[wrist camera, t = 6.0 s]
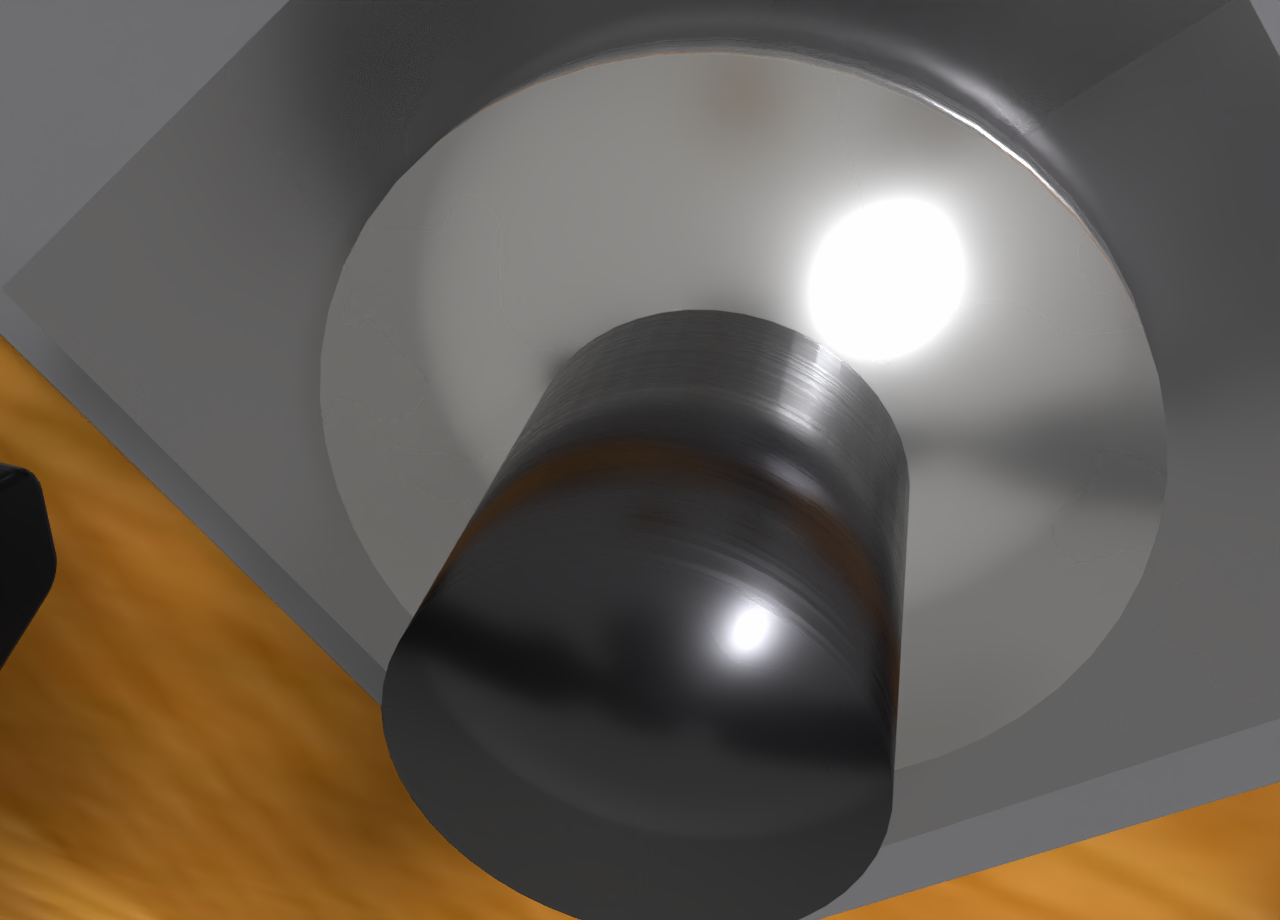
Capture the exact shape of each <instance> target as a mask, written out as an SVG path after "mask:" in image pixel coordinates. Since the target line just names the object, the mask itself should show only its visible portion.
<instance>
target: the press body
mask: <svg viewBox="0 0 1280 920" xmlns="http://www.w3.org/2000/svg"><path fill="white" fill-rule="evenodd" d="M709 37H739V38H749V39H760V40H770V41H780V42H790V43H797V44H801V45H806V46H810V47H814V48H818V49H822V50H827V51H831V52H835V53H839V54H843V55H848V56H852V57H856V58H860V59H862V60H865V61H867V62H870V63H872V64H875V65H878V66H880V67H883V68H885V69H888V70H891V71H893V72H896V73H898V74H901V75H903V76H906V77H909V78H911V79H914V80H916V81H919V82H921V83H923V84H925V85H926V86H928V87H930V88H932V89H934V90H935V91H937V92H939V93H941V94H943V95H944V96H946V97H948V98H950V99H952V100H953V101H955V102H957V103H959V104H961V105H962V106H964V107H966V108H968V109H970V110H972V111H973V112H975V113H977V114H978V115H979V116H981V117H982V118H983V119H985V120H986V121H987V122H989V123H990V124H991V125H993V126H994V127H995V128H997V129H998V130H999V131H1001V132H1002V133H1003V134H1005V135H1006V136H1007V137H1009V138H1010V139H1011V140H1013V141H1014V142H1015V143H1017V144H1018V145H1019V146H1021V147H1022V148H1023V149H1025V150H1026V151H1027V152H1028V153H1029V154H1030V155H1031V156H1032V157H1033V158H1034V159H1035V160H1036V161H1037V162H1038V163H1039V164H1040V165H1041V166H1042V167H1043V168H1044V169H1045V170H1046V171H1047V172H1048V173H1049V174H1050V175H1051V176H1052V177H1053V178H1054V179H1055V180H1056V181H1057V182H1058V183H1059V184H1060V185H1061V186H1062V187H1063V188H1064V189H1065V190H1066V191H1067V192H1068V193H1069V194H1070V195H1071V197H1072V198H1073V199H1074V201H1075V202H1076V203H1077V205H1078V206H1079V207H1080V209H1081V210H1082V212H1083V213H1084V214H1085V216H1086V217H1087V218H1088V220H1089V221H1090V222H1091V224H1092V225H1093V226H1094V228H1095V229H1096V231H1097V232H1098V233H1099V235H1100V236H1101V237H1102V239H1103V240H1104V241H1105V243H1106V245H1107V247H1108V249H1109V250H1110V252H1111V254H1112V256H1113V258H1114V260H1115V262H1116V264H1117V266H1118V268H1119V270H1120V271H1121V273H1122V275H1123V277H1124V279H1125V281H1126V283H1127V285H1128V287H1129V289H1130V291H1131V292H1132V295H1133V298H1134V301H1135V304H1136V307H1137V310H1138V313H1139V316H1140V319H1141V322H1142V325H1143V328H1144V331H1145V334H1146V337H1147V340H1148V343H1149V346H1150V349H1151V353H1152V356H1153V359H1154V363H1155V366H1156V369H1157V373H1158V376H1159V382H1160V388H1161V394H1162V401H1163V407H1164V413H1165V419H1166V425H1167V484H1166V489H1165V495H1164V501H1163V506H1162V512H1161V518H1160V523H1159V529H1158V533H1157V536H1156V539H1155V541H1154V544H1153V547H1152V550H1151V553H1150V556H1149V558H1148V561H1147V564H1146V567H1145V570H1144V573H1143V575H1142V578H1141V580H1140V581H1139V583H1138V585H1137V587H1136V589H1135V591H1134V592H1133V594H1132V596H1131V598H1130V600H1129V602H1128V604H1127V605H1126V607H1125V609H1124V611H1123V613H1122V615H1121V616H1120V618H1119V620H1118V621H1117V622H1116V624H1115V625H1114V626H1113V628H1112V629H1111V630H1110V632H1109V633H1108V634H1107V635H1106V637H1105V638H1104V639H1103V641H1102V642H1101V643H1100V645H1099V646H1098V647H1097V649H1096V650H1095V651H1094V653H1093V654H1092V655H1091V656H1090V657H1089V658H1088V659H1087V660H1086V661H1085V662H1084V663H1083V664H1082V665H1081V666H1080V667H1079V668H1078V669H1077V670H1076V671H1075V672H1074V673H1073V674H1072V675H1071V676H1070V677H1069V678H1068V679H1067V680H1066V681H1065V682H1064V683H1063V684H1062V685H1061V686H1060V687H1059V688H1058V689H1057V690H1055V691H1054V692H1053V693H1051V694H1050V695H1049V696H1047V697H1046V698H1045V699H1043V700H1042V701H1041V702H1039V703H1038V704H1037V705H1035V706H1034V707H1033V708H1031V709H1030V710H1029V711H1027V712H1026V713H1025V714H1023V715H1022V716H1021V717H1019V718H1017V719H1015V720H1014V721H1012V722H1010V723H1008V724H1007V725H1005V726H1003V727H1001V728H1000V729H998V730H996V731H994V732H993V733H991V734H989V735H987V736H986V737H984V738H982V739H980V740H978V741H976V742H973V743H971V744H968V745H966V746H964V747H961V748H959V749H957V750H954V751H952V752H949V753H947V754H945V755H942V756H940V757H938V758H934V759H931V760H927V761H924V762H921V763H917V764H914V765H911V766H907V767H904V768H900V769H897V770H894V787H893V805H892V813H891V817H890V821H889V826H888V830H887V834H886V836H885V838H884V840H883V843H882V845H881V847H884V846H887V845H890V844H893V843H896V842H899V841H902V840H905V839H909V838H912V837H915V836H918V835H921V834H924V833H927V832H930V831H933V830H936V829H939V828H942V827H946V826H949V825H952V824H955V823H958V822H961V821H964V820H967V819H970V818H973V817H976V816H980V815H983V814H986V813H989V812H992V811H995V810H998V809H1001V808H1004V807H1007V806H1010V805H1014V804H1017V803H1020V802H1023V801H1026V800H1029V799H1032V798H1035V797H1038V796H1041V795H1044V794H1048V793H1051V792H1054V791H1057V790H1060V789H1063V788H1066V787H1069V786H1072V785H1075V784H1078V783H1082V782H1085V781H1088V780H1091V779H1094V778H1097V777H1100V776H1103V775H1106V774H1109V773H1112V772H1116V771H1119V770H1122V769H1125V768H1128V767H1131V766H1134V765H1137V764H1140V763H1143V762H1146V761H1150V760H1153V759H1156V758H1159V757H1162V756H1165V755H1168V754H1171V753H1174V752H1177V751H1180V750H1184V749H1187V748H1190V747H1193V746H1196V745H1199V744H1202V743H1205V742H1208V741H1211V740H1214V739H1218V738H1221V737H1224V736H1227V735H1230V734H1233V733H1236V732H1239V731H1242V730H1245V729H1248V728H1252V727H1255V726H1258V725H1261V724H1264V723H1267V722H1270V721H1273V720H1276V719H1279V718H1280V56H1279V54H1278V53H1277V51H1276V49H1275V47H1274V45H1273V43H1272V41H1271V39H1270V38H1269V36H1268V34H1267V32H1266V30H1265V28H1264V26H1263V24H1262V23H1261V21H1260V19H1259V17H1258V15H1257V13H1256V11H1255V9H1254V8H1253V6H1252V4H1251V2H1250V0H289V1H288V2H287V3H286V4H285V5H284V6H283V7H282V8H281V9H280V10H279V11H278V12H277V13H276V14H275V15H274V16H273V17H272V18H271V19H270V20H269V21H268V22H267V23H266V24H265V25H264V26H263V27H262V28H261V29H260V30H259V31H258V32H257V33H256V34H255V35H254V36H253V37H252V38H251V39H250V40H249V41H248V42H247V43H246V44H245V45H244V46H243V47H242V48H241V49H240V50H239V51H238V52H237V53H236V54H235V55H234V56H233V57H232V58H231V59H230V60H229V61H228V62H227V63H226V64H225V65H224V66H223V67H222V68H221V69H220V70H219V71H218V72H217V73H216V74H215V75H214V76H213V77H212V78H211V79H210V80H209V81H208V82H207V83H206V84H205V85H204V86H203V87H202V88H201V89H200V90H199V91H198V92H197V93H196V94H195V95H194V96H193V97H192V98H191V99H190V100H189V101H188V102H187V103H186V104H185V105H184V106H183V107H182V108H181V109H180V110H179V111H178V112H177V113H176V114H175V115H174V116H173V117H172V118H171V119H170V120H169V121H168V122H167V123H166V124H165V125H164V126H163V127H162V128H161V129H160V130H159V131H158V132H157V133H156V134H155V135H154V136H153V137H152V138H151V139H150V140H149V141H148V142H147V143H146V144H145V145H144V146H143V147H142V148H141V149H140V150H139V151H138V152H137V153H136V154H135V155H134V156H133V157H132V158H131V159H130V160H129V161H128V162H127V163H126V164H125V165H124V166H123V167H122V168H121V169H120V170H119V171H118V172H117V173H116V174H115V175H114V176H113V177H112V178H111V179H110V180H109V181H108V182H107V183H106V184H105V185H104V186H103V187H102V188H101V189H100V190H99V191H98V192H97V193H96V194H95V195H94V196H93V197H92V198H91V199H90V200H89V201H88V202H87V203H86V204H85V205H84V206H83V207H82V208H81V209H80V210H79V211H78V212H77V213H76V214H75V215H74V216H73V217H72V218H71V219H70V220H69V221H68V222H67V223H66V224H65V225H64V226H63V227H62V228H61V229H60V230H59V231H58V232H57V233H56V234H55V235H54V236H53V237H52V238H51V239H50V240H49V241H48V242H47V243H46V244H45V245H44V246H43V247H42V248H41V249H40V250H39V251H38V252H37V253H36V254H35V255H34V256H33V257H32V258H31V259H30V260H29V261H28V262H27V263H26V264H25V265H24V266H23V267H22V268H21V269H20V270H19V271H18V272H17V273H16V274H15V275H14V276H13V277H12V278H11V279H10V280H9V281H8V282H7V283H6V284H5V285H4V286H3V287H2V288H1V289H2V290H3V291H4V292H5V293H6V294H7V295H8V296H9V297H10V298H11V299H12V300H13V301H14V302H15V303H16V304H17V305H18V306H19V307H20V308H21V309H22V310H23V311H24V312H25V313H26V314H27V315H28V316H29V317H30V318H31V319H32V320H33V321H34V322H35V323H36V324H37V325H38V326H39V327H40V328H41V329H42V330H43V331H44V332H45V333H46V334H47V335H48V336H49V337H50V338H51V339H52V340H53V341H54V342H55V343H56V344H57V345H58V346H59V347H60V348H61V349H62V350H63V351H64V352H65V353H66V354H67V355H68V356H69V357H70V358H71V359H72V360H73V361H74V362H75V363H76V364H77V365H78V366H79V367H80V368H81V369H82V370H83V371H84V372H85V373H86V374H87V375H88V376H89V377H90V378H91V379H92V380H93V381H94V382H95V383H96V384H97V385H98V386H99V387H100V388H101V389H102V390H103V391H104V392H105V393H106V394H107V395H108V396H109V397H110V398H111V399H112V400H113V401H114V402H115V403H117V404H118V405H119V406H120V407H121V408H122V409H123V410H124V411H125V412H126V413H127V414H128V415H129V416H130V417H131V418H132V419H133V420H134V421H135V422H136V423H137V424H138V425H139V426H140V427H141V428H142V429H143V430H144V431H145V432H146V433H147V434H148V435H149V436H150V437H151V438H152V439H153V440H154V441H155V442H156V443H157V444H158V445H159V446H160V447H161V448H162V449H163V450H164V451H165V452H166V453H167V454H168V455H169V456H170V457H171V458H172V459H173V460H174V461H175V462H176V463H177V464H178V465H179V466H180V467H181V468H182V469H183V470H184V471H185V472H186V473H187V474H188V475H189V476H190V477H191V478H192V479H193V480H194V481H195V482H196V483H197V484H198V485H199V486H200V487H201V488H202V489H203V490H204V491H205V492H206V493H207V494H208V495H209V496H210V497H211V498H212V499H213V500H214V501H215V502H216V503H217V504H218V505H219V506H220V507H221V508H222V509H223V510H224V511H225V512H226V513H227V514H228V515H229V516H230V517H231V518H232V519H233V520H234V521H235V522H236V523H237V524H238V525H239V526H240V527H241V528H242V529H243V530H244V531H245V532H246V533H247V534H248V535H249V536H250V537H251V538H252V539H253V540H254V541H255V542H256V543H257V544H258V545H259V546H260V547H261V548H262V549H263V550H264V551H265V552H266V553H267V554H268V555H269V556H270V557H271V558H272V559H273V560H274V561H275V562H276V563H277V564H279V565H280V566H281V567H282V568H283V569H284V570H285V571H286V572H287V573H288V574H289V575H290V576H291V577H292V578H293V579H294V580H295V581H296V582H297V583H298V584H299V585H300V586H301V587H302V588H303V589H304V590H305V591H306V592H307V593H308V594H309V595H310V596H311V597H312V598H313V599H314V600H315V601H316V602H317V603H318V604H319V605H320V606H321V607H322V608H323V609H324V610H325V611H326V612H327V613H328V614H329V615H330V616H331V617H332V618H333V619H334V620H335V621H336V622H337V623H338V624H339V625H340V626H341V627H342V628H343V629H344V630H345V631H346V632H347V633H348V634H349V635H350V636H351V637H352V638H353V639H354V640H355V641H356V642H357V643H358V644H359V645H360V646H361V647H362V648H363V649H364V650H365V651H366V652H367V653H368V654H369V655H370V656H371V657H372V658H373V659H374V660H375V661H376V662H377V663H378V664H379V665H380V666H381V667H382V668H383V669H384V670H385V671H386V672H387V668H388V664H389V661H390V659H391V657H392V655H393V653H394V651H395V649H396V647H397V645H398V642H399V641H400V639H401V637H402V635H403V634H404V632H405V630H406V629H407V627H408V625H409V623H410V622H411V620H412V618H413V617H412V616H411V615H410V614H409V613H408V611H407V610H406V609H405V608H404V607H403V606H402V605H401V603H400V602H399V601H398V599H397V598H396V596H395V595H394V594H393V592H392V591H391V589H390V588H389V587H388V585H387V584H386V582H385V581H384V580H383V578H382V577H381V575H380V574H379V572H378V571H377V570H376V568H375V567H374V565H373V563H372V561H371V559H370V558H369V556H368V554H367V552H366V550H365V549H364V547H363V545H362V543H361V541H360V539H359V538H358V536H357V534H356V532H355V530H354V529H353V526H352V524H351V521H350V519H349V516H348V514H347V511H346V509H345V506H344V504H343V501H342V499H341V496H340V494H339V492H338V489H337V486H336V483H335V479H334V475H333V471H332V467H331V463H330V460H329V456H328V452H327V448H326V444H325V436H324V428H323V420H322V412H321V404H320V377H321V352H322V346H323V340H324V334H325V328H326V323H327V317H328V311H329V307H330V304H331V301H332V298H333V295H334V292H335V289H336V287H337V284H338V281H339V278H340V275H341V272H342V269H343V266H344V264H345V262H346V260H347V258H348V256H349V254H350V252H351V250H352V248H353V246H354V245H355V243H356V241H357V239H358V237H359V235H360V233H361V231H362V229H363V227H364V225H365V224H366V222H367V220H368V219H369V218H370V216H371V215H372V214H373V212H374V211H375V210H376V208H377V207H378V206H379V204H380V203H381V202H382V200H383V199H384V198H385V196H386V195H387V194H388V192H389V191H390V190H391V188H392V187H393V186H394V184H395V183H396V182H397V181H398V180H399V179H400V178H401V177H402V176H403V175H404V174H405V173H406V172H407V171H408V170H409V169H410V168H411V167H412V166H413V165H414V164H415V163H416V162H417V161H418V160H419V159H420V158H421V157H422V156H423V155H425V154H426V153H427V152H428V151H429V150H430V149H431V148H432V147H433V146H434V145H435V144H436V143H437V142H438V141H439V140H441V139H442V138H443V137H444V136H445V135H446V134H447V133H449V132H450V131H451V130H452V129H453V128H454V127H455V126H457V125H458V124H459V123H461V122H462V121H463V120H465V119H466V118H468V117H469V116H470V115H472V114H473V113H475V112H476V111H478V110H479V109H480V108H482V107H483V106H485V105H486V104H487V103H489V102H490V101H492V100H493V99H494V98H496V97H497V96H499V95H500V94H502V93H504V92H506V91H508V90H510V89H512V88H514V87H516V86H518V85H519V84H521V83H523V82H525V81H527V80H529V79H531V78H533V77H535V76H537V75H539V74H541V73H543V72H545V71H547V70H549V69H551V68H554V67H557V66H560V65H563V64H566V63H569V62H572V61H575V60H578V59H581V58H584V57H587V56H590V55H594V54H597V53H600V52H603V51H606V50H609V49H615V48H621V47H626V46H632V45H637V44H643V43H649V42H654V41H660V40H665V39H683V38H709ZM881 847H880V848H881Z"/></svg>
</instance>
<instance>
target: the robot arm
mask: <svg viewBox="0 0 1280 920" xmlns="http://www.w3.org/2000/svg"><path fill="white" fill-rule="evenodd" d="M56 564H57V558H56V552H55V547H54V542H53V538H52V533H51V529H50V524H49V519H48V515H47V510H46V506H45V501H44V496H43V492H42V488H41V485H40V482H39V481H38V479H37V478H36V477H35V475H34V474H33V473H32V472H30V471H28V470H27V469H24V468H21V467H17V466H13V465H8V464H4V463H0V670H1V669H2V667H3V666H4V664H5V662H6V661H7V659H8V657H9V656H10V654H11V653H12V651H13V649H14V648H15V646H16V645H17V643H18V641H19V640H20V638H21V637H22V635H23V633H24V632H25V630H26V629H27V627H28V625H29V624H30V622H31V620H32V619H33V617H34V616H35V614H36V612H37V611H38V609H39V608H40V606H41V604H42V603H43V601H44V600H45V598H46V596H47V595H48V593H49V591H50V589H51V586H52V584H53V581H54V578H55V573H56Z"/></svg>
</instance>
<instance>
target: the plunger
mask: <svg viewBox="0 0 1280 920" xmlns="http://www.w3.org/2000/svg"><path fill="white" fill-rule="evenodd" d="M320 404H321V412H322V420H323V428H324V436H325V444H326V448H327V452H328V456H329V460H330V463H331V467H332V471H333V475H334V479H335V483H336V486H337V489H338V492H339V494H340V496H341V499H342V501H343V504H344V506H345V509H346V511H347V514H348V516H349V519H350V521H351V524H352V526H353V529H354V530H355V532H356V534H357V536H358V538H359V539H360V541H361V543H362V545H363V547H364V549H365V550H366V552H367V554H368V556H369V558H370V559H371V561H372V563H373V565H374V567H375V568H376V570H377V571H378V572H379V574H380V575H381V577H382V578H383V580H384V581H385V582H386V584H387V585H388V587H389V588H390V589H391V591H392V592H393V594H394V595H395V596H396V598H397V599H398V601H399V602H400V603H401V605H402V606H403V607H404V608H405V609H406V610H407V611H408V613H409V614H410V615H411V616H412V617H413V618H412V620H411V622H410V623H409V625H408V627H407V629H406V630H405V632H404V634H403V635H402V637H401V639H400V641H399V642H398V645H397V647H396V649H395V651H394V653H393V655H392V657H391V659H390V661H389V664H388V668H387V672H386V675H385V679H384V683H383V691H382V706H381V710H382V720H383V729H384V735H385V738H386V742H387V746H388V749H389V753H390V756H391V759H392V761H393V763H394V766H395V768H396V770H397V772H398V775H399V777H400V779H401V781H402V783H403V784H404V786H405V788H406V789H407V791H408V793H409V794H410V796H411V798H412V799H413V801H414V802H415V804H416V805H417V806H418V807H419V809H420V810H421V811H422V813H423V814H424V815H425V817H426V818H427V819H428V820H429V822H430V823H431V824H432V825H433V826H434V827H435V828H436V829H437V830H438V831H439V832H440V833H441V834H442V835H443V837H444V838H445V839H446V840H447V841H448V842H449V843H450V844H452V845H453V846H454V847H455V848H456V849H457V850H458V851H460V852H461V853H462V854H463V855H464V856H465V857H467V858H468V859H469V860H470V861H471V862H473V863H474V864H475V865H477V866H478V867H480V868H481V869H482V870H484V871H485V872H487V873H488V874H489V875H491V876H492V877H494V878H495V879H497V880H498V881H500V882H502V883H503V884H505V885H507V886H508V887H510V888H512V889H514V890H515V891H517V892H519V893H520V894H522V895H524V896H526V897H528V898H530V899H533V900H535V901H537V902H539V903H541V904H543V905H545V906H547V907H549V908H552V909H554V910H557V911H559V912H562V913H564V914H567V915H570V916H572V917H575V918H578V919H581V920H799V919H802V918H804V917H806V916H808V915H810V914H812V913H814V912H816V911H817V910H819V909H821V908H823V907H825V906H827V905H828V904H829V903H831V902H832V901H834V900H835V899H836V898H838V897H839V896H841V895H842V894H843V893H845V892H846V891H847V890H848V889H849V888H850V887H851V886H852V885H853V884H854V883H855V882H856V881H857V880H858V879H859V878H860V877H861V876H862V875H863V874H864V873H865V871H866V870H867V868H868V867H869V866H870V864H871V863H872V861H873V860H874V858H875V857H876V856H877V854H878V851H879V849H880V847H881V845H882V843H883V840H884V838H885V836H886V834H887V830H888V826H889V821H890V817H891V813H892V805H893V787H894V770H897V769H900V768H904V767H907V766H911V765H914V764H917V763H921V762H924V761H927V760H931V759H934V758H938V757H940V756H942V755H945V754H947V753H949V752H952V751H954V750H957V749H959V748H961V747H964V746H966V745H968V744H971V743H973V742H976V741H978V740H980V739H982V738H984V737H986V736H987V735H989V734H991V733H993V732H994V731H996V730H998V729H1000V728H1001V727H1003V726H1005V725H1007V724H1008V723H1010V722H1012V721H1014V720H1015V719H1017V718H1019V717H1021V716H1022V715H1023V714H1025V713H1026V712H1027V711H1029V710H1030V709H1031V708H1033V707H1034V706H1035V705H1037V704H1038V703H1039V702H1041V701H1042V700H1043V699H1045V698H1046V697H1047V696H1049V695H1050V694H1051V693H1053V692H1054V691H1055V690H1057V689H1058V688H1059V687H1060V686H1061V685H1062V684H1063V683H1064V682H1065V681H1066V680H1067V679H1068V678H1069V677H1070V676H1071V675H1072V674H1073V673H1074V672H1075V671H1076V670H1077V669H1078V668H1079V667H1080V666H1081V665H1082V664H1083V663H1084V662H1085V661H1086V660H1087V659H1088V658H1089V657H1090V656H1091V655H1092V654H1093V653H1094V651H1095V650H1096V649H1097V647H1098V646H1099V645H1100V643H1101V642H1102V641H1103V639H1104V638H1105V637H1106V635H1107V634H1108V633H1109V632H1110V630H1111V629H1112V628H1113V626H1114V625H1115V624H1116V622H1117V621H1118V620H1119V618H1120V616H1121V615H1122V613H1123V611H1124V609H1125V607H1126V605H1127V604H1128V602H1129V600H1130V598H1131V596H1132V594H1133V592H1134V591H1135V589H1136V587H1137V585H1138V583H1139V581H1140V580H1141V578H1142V575H1143V573H1144V570H1145V567H1146V564H1147V561H1148V558H1149V556H1150V553H1151V550H1152V547H1153V544H1154V541H1155V539H1156V536H1157V533H1158V529H1159V523H1160V518H1161V512H1162V506H1163V501H1164V495H1165V489H1166V484H1167V425H1166V419H1165V413H1164V407H1163V401H1162V394H1161V388H1160V382H1159V376H1158V373H1157V369H1156V366H1155V363H1154V359H1153V356H1152V353H1151V349H1150V346H1149V343H1148V340H1147V337H1146V334H1145V331H1144V328H1143V325H1142V322H1141V319H1140V316H1139V313H1138V310H1137V307H1136V304H1135V301H1134V298H1133V295H1132V292H1131V291H1130V289H1129V287H1128V285H1127V283H1126V281H1125V279H1124V277H1123V275H1122V273H1121V271H1120V270H1119V268H1118V266H1117V264H1116V262H1115V260H1114V258H1113V256H1112V254H1111V252H1110V250H1109V249H1108V247H1107V245H1106V243H1105V241H1104V240H1103V239H1102V237H1101V236H1100V235H1099V233H1098V232H1097V231H1096V229H1095V228H1094V226H1093V225H1092V224H1091V222H1090V221H1089V220H1088V218H1087V217H1086V216H1085V214H1084V213H1083V212H1082V210H1081V209H1080V207H1079V206H1078V205H1077V203H1076V202H1075V201H1074V199H1073V198H1072V197H1071V195H1070V194H1069V193H1068V192H1067V191H1066V190H1065V189H1064V188H1063V187H1062V186H1061V185H1060V184H1059V183H1058V182H1057V181H1056V180H1055V179H1054V178H1053V177H1052V176H1051V175H1050V174H1049V173H1048V172H1047V171H1046V170H1045V169H1044V168H1043V167H1042V166H1041V165H1040V164H1039V163H1038V162H1037V161H1036V160H1035V159H1034V158H1033V157H1032V156H1031V155H1030V154H1029V153H1028V152H1027V151H1026V150H1025V149H1023V148H1022V147H1021V146H1019V145H1018V144H1017V143H1015V142H1014V141H1013V140H1011V139H1010V138H1009V137H1007V136H1006V135H1005V134H1003V133H1002V132H1001V131H999V130H998V129H997V128H995V127H994V126H993V125H991V124H990V123H989V122H987V121H986V120H985V119H983V118H982V117H981V116H979V115H978V114H977V113H975V112H973V111H972V110H970V109H968V108H966V107H964V106H962V105H961V104H959V103H957V102H955V101H953V100H952V99H950V98H948V97H946V96H944V95H943V94H941V93H939V92H937V91H935V90H934V89H932V88H930V87H928V86H926V85H925V84H923V83H921V82H919V81H916V80H914V79H911V78H909V77H906V76H903V75H901V74H898V73H896V72H893V71H891V70H888V69H885V68H883V67H880V66H878V65H875V64H872V63H870V62H867V61H865V60H862V59H860V58H856V57H852V56H848V55H843V54H839V53H835V52H831V51H827V50H822V49H818V48H814V47H810V46H806V45H801V44H797V43H790V42H780V41H770V40H760V39H749V38H739V37H709V38H683V39H665V40H660V41H654V42H649V43H643V44H637V45H632V46H626V47H621V48H615V49H609V50H606V51H603V52H600V53H597V54H594V55H590V56H587V57H584V58H581V59H578V60H575V61H572V62H569V63H566V64H563V65H560V66H557V67H554V68H551V69H549V70H547V71H545V72H543V73H541V74H539V75H537V76H535V77H533V78H531V79H529V80H527V81H525V82H523V83H521V84H519V85H518V86H516V87H514V88H512V89H510V90H508V91H506V92H504V93H502V94H500V95H499V96H497V97H496V98H494V99H493V100H492V101H490V102H489V103H487V104H486V105H485V106H483V107H482V108H480V109H479V110H478V111H476V112H475V113H473V114H472V115H470V116H469V117H468V118H466V119H465V120H463V121H462V122H461V123H459V124H458V125H457V126H455V127H454V128H453V129H452V130H451V131H450V132H449V133H447V134H446V135H445V136H444V137H443V138H442V139H441V140H439V141H438V142H437V143H436V144H435V145H434V146H433V147H432V148H431V149H430V150H429V151H428V152H427V153H426V154H425V155H423V156H422V157H421V158H420V159H419V160H418V161H417V162H416V163H415V164H414V165H413V166H412V167H411V168H410V169H409V170H408V171H407V172H406V173H405V174H404V175H403V176H402V177H401V178H400V179H399V180H398V181H397V182H396V183H395V184H394V186H393V187H392V188H391V190H390V191H389V192H388V194H387V195H386V196H385V198H384V199H383V200H382V202H381V203H380V204H379V206H378V207H377V208H376V210H375V211H374V212H373V214H372V215H371V216H370V218H369V219H368V220H367V222H366V224H365V225H364V227H363V229H362V231H361V233H360V235H359V237H358V239H357V241H356V243H355V245H354V246H353V248H352V250H351V252H350V254H349V256H348V258H347V260H346V262H345V264H344V266H343V269H342V272H341V275H340V278H339V281H338V284H337V287H336V289H335V292H334V295H333V298H332V301H331V304H330V307H329V311H328V317H327V323H326V328H325V334H324V340H323V346H322V352H321V377H320Z"/></svg>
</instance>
